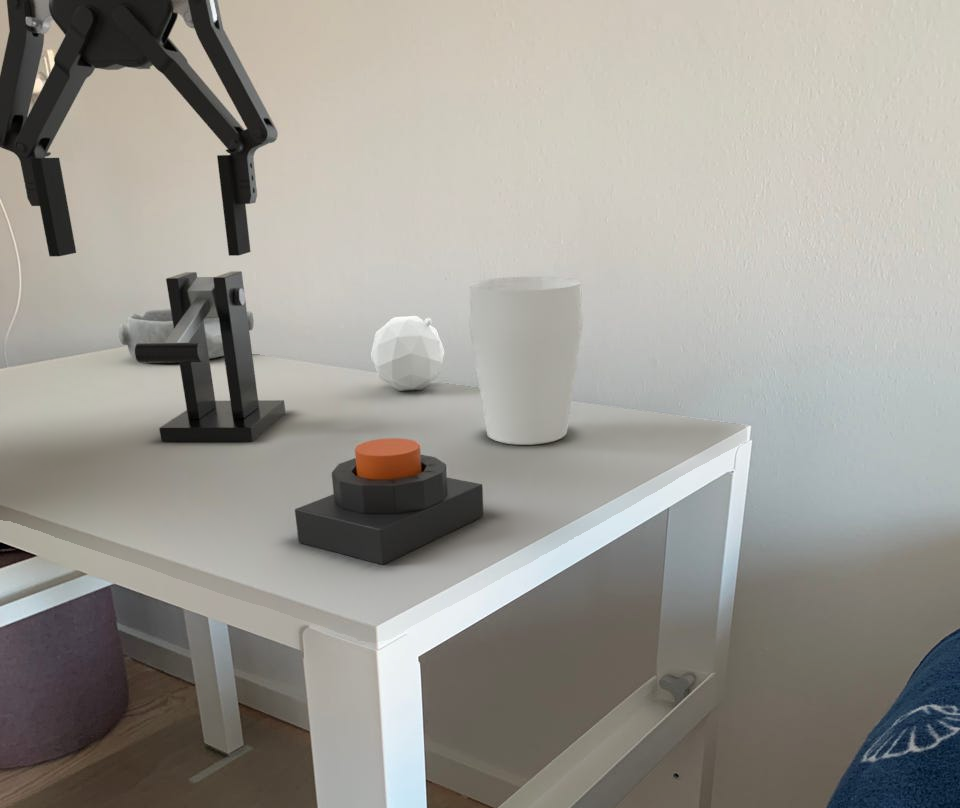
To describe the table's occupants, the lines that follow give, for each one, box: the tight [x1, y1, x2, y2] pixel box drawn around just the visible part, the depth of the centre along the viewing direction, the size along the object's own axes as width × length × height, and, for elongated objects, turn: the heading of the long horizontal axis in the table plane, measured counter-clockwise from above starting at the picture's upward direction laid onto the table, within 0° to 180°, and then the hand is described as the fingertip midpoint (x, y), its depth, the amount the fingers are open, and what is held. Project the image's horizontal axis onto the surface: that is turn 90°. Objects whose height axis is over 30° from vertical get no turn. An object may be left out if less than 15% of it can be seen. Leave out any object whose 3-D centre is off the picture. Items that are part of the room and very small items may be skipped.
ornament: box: [370, 315, 446, 392], centre depth 99 cm, size 7×7×8 cm
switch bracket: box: [158, 270, 286, 443], centre depth 86 cm, size 10×8×13 cm
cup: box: [468, 276, 584, 446], centre depth 81 cm, size 9×9×12 cm
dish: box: [118, 308, 255, 360], centre depth 121 cm, size 14×14×5 cm
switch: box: [135, 276, 219, 364], centre depth 81 cm, size 12×5×2 cm, turn 174°
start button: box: [354, 437, 422, 479], centre depth 62 cm, size 4×4×2 cm
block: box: [294, 454, 484, 565], centre depth 63 cm, size 10×7×4 cm
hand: (150, 254), depth 74 cm, fingers open, 13 cm apart
